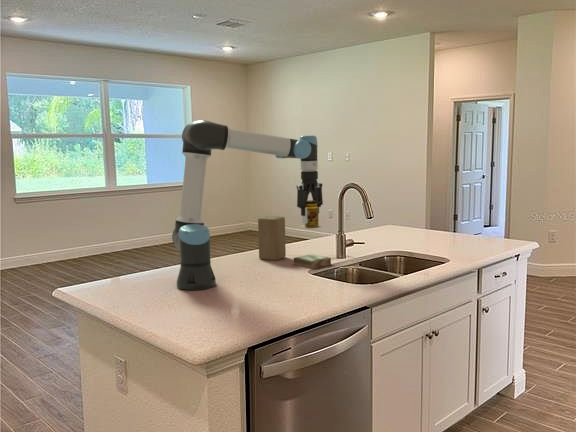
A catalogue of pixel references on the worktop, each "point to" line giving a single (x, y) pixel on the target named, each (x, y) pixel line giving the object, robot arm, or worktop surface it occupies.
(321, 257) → the stand
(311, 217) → the condiment
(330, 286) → the worktop surface
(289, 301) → the worktop surface
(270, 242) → the wooden block
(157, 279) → the worktop surface
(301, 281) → the worktop surface
